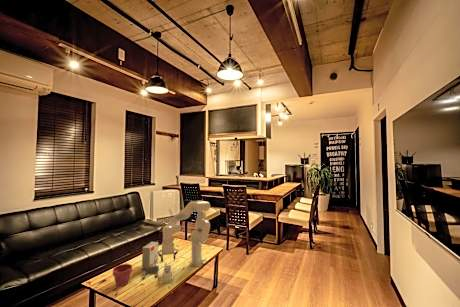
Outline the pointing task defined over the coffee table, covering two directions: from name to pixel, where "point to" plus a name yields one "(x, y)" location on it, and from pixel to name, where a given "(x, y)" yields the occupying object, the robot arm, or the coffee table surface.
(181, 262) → the coffee table surface
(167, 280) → the tray
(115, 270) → the plant pot
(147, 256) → the hard drive box
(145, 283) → the coffee table surface
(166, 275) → the capped cream block
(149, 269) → the bay
